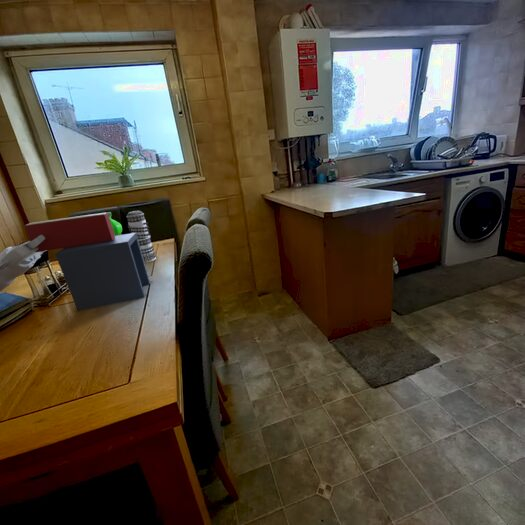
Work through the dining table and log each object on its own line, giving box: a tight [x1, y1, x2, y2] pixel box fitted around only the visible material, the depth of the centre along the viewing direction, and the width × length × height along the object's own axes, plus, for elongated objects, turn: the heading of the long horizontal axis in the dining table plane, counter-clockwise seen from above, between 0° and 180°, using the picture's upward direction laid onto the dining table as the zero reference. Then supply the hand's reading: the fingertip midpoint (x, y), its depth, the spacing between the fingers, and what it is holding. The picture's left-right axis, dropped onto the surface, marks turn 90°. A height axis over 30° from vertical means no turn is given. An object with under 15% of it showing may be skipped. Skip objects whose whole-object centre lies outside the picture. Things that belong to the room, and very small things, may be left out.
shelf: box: [54, 232, 151, 311], centre depth 100 cm, size 22×14×21 cm, turn 103°
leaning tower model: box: [126, 210, 157, 264], centre depth 137 cm, size 9×9×25 cm
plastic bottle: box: [107, 211, 123, 236], centre depth 146 cm, size 10×10×25 cm
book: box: [23, 212, 115, 252], centre depth 94 cm, size 24×4×9 cm, turn 103°
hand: (48, 234), depth 92 cm, fingers closed on book, 4 cm apart
